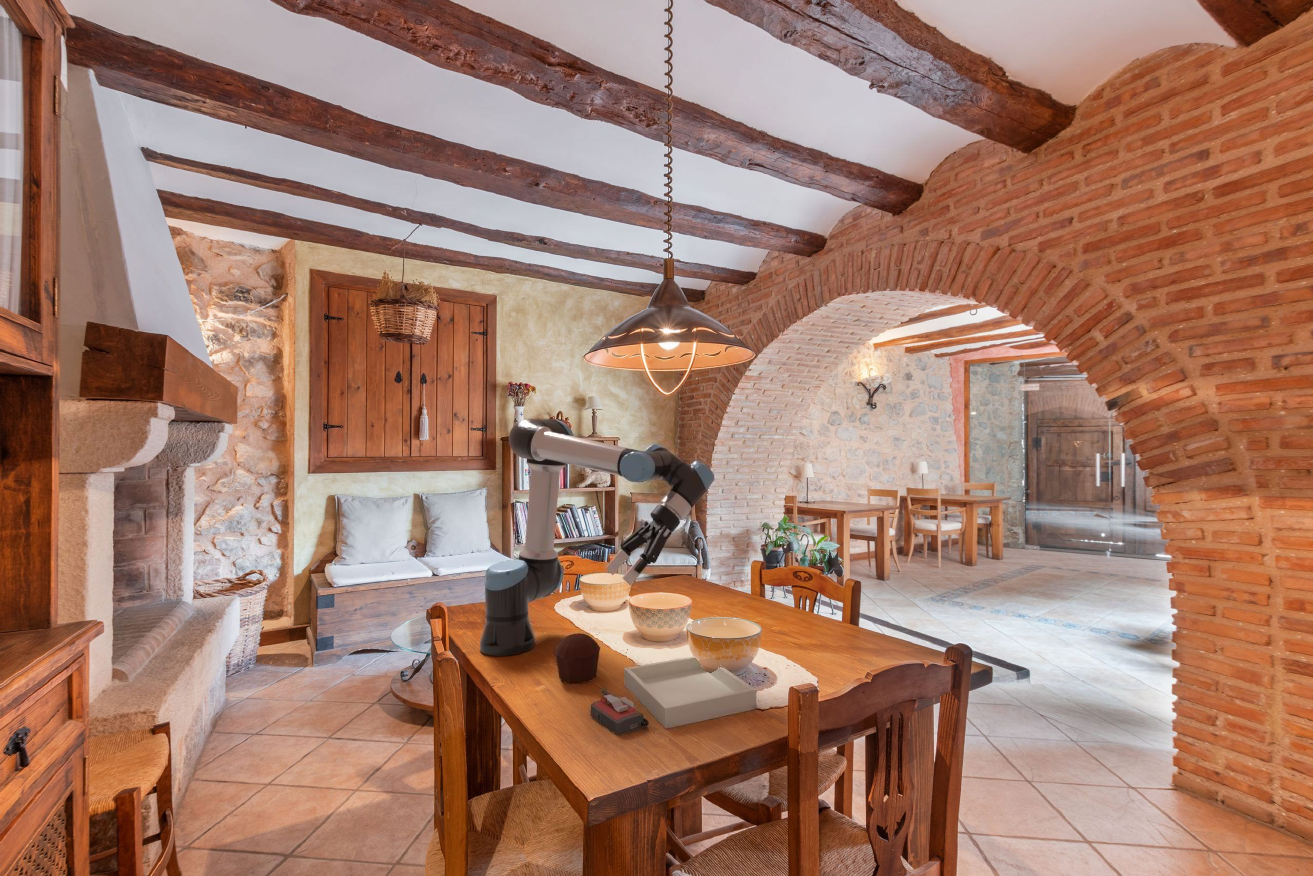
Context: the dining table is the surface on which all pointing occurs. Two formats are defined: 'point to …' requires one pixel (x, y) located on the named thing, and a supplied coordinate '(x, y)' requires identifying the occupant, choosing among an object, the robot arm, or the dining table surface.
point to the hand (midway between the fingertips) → (617, 576)
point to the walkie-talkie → (617, 714)
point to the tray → (688, 691)
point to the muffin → (577, 658)
